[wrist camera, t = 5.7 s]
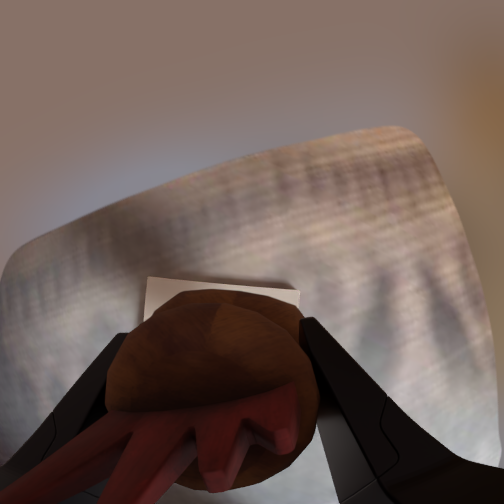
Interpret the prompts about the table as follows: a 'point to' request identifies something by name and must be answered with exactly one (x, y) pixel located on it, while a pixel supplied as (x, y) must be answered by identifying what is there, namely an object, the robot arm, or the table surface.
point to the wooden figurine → (191, 405)
